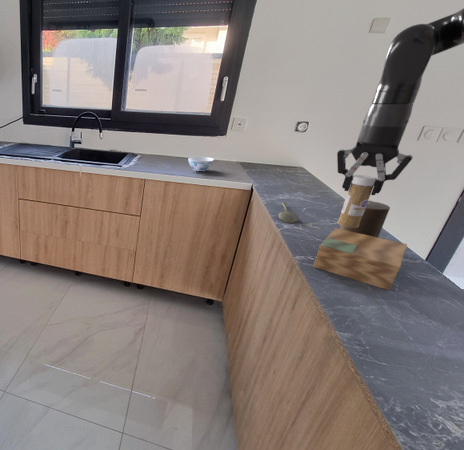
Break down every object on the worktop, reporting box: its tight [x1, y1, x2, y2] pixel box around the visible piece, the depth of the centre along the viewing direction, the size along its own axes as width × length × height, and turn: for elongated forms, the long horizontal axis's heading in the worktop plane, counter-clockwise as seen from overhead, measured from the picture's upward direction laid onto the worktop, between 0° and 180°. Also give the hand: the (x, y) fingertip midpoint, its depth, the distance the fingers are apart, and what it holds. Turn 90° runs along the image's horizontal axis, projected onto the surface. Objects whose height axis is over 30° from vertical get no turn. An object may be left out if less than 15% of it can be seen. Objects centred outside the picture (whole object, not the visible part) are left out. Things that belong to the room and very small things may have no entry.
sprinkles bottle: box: [337, 174, 378, 228], centre depth 81 cm, size 5×5×13 cm
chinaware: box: [187, 156, 215, 172], centre depth 198 cm, size 15×15×8 cm
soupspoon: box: [278, 201, 299, 224], centre depth 128 cm, size 22×3×7 cm
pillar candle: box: [338, 200, 391, 238], centre depth 100 cm, size 10×10×15 cm
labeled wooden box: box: [312, 227, 408, 291], centre depth 88 cm, size 16×18×7 cm
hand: (359, 192), depth 80 cm, fingers closed on sprinkles bottle, 4 cm apart
